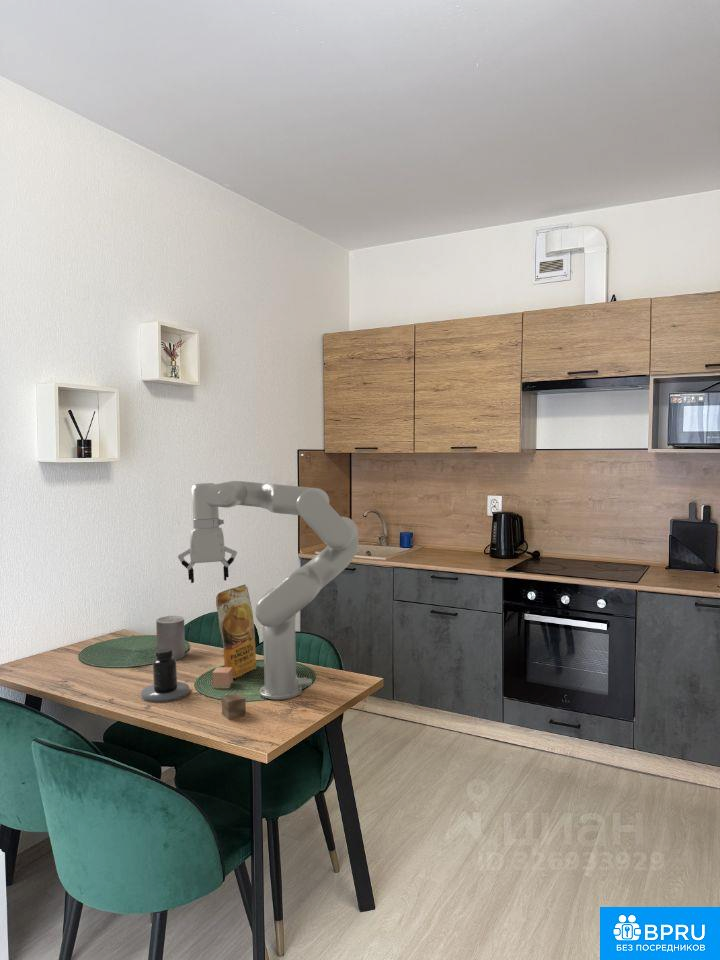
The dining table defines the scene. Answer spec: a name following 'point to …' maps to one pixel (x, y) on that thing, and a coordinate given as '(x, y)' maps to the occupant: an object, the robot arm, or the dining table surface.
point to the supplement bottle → (164, 671)
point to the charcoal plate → (153, 696)
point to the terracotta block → (222, 677)
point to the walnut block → (233, 706)
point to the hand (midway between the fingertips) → (208, 581)
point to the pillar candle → (171, 635)
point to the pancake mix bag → (237, 629)
